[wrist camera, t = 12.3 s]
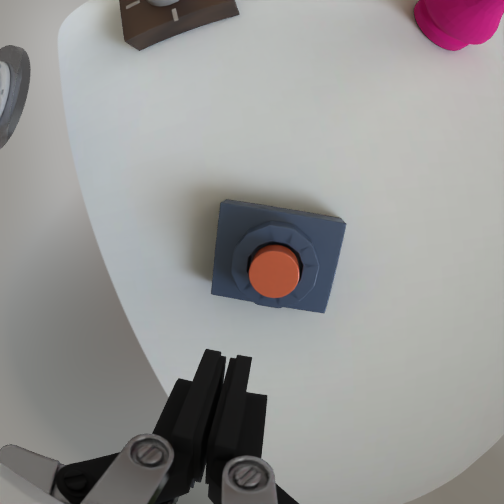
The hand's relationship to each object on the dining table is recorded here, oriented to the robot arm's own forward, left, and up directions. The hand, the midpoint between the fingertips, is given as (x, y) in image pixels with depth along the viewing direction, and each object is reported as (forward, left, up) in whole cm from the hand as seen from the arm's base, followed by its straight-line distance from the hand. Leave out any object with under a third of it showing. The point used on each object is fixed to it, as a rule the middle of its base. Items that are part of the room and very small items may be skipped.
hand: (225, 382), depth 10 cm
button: (+1, 0, -13) cm, 13 cm away
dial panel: (-11, +23, -17) cm, 31 cm away
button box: (+1, 0, -17) cm, 17 cm away
